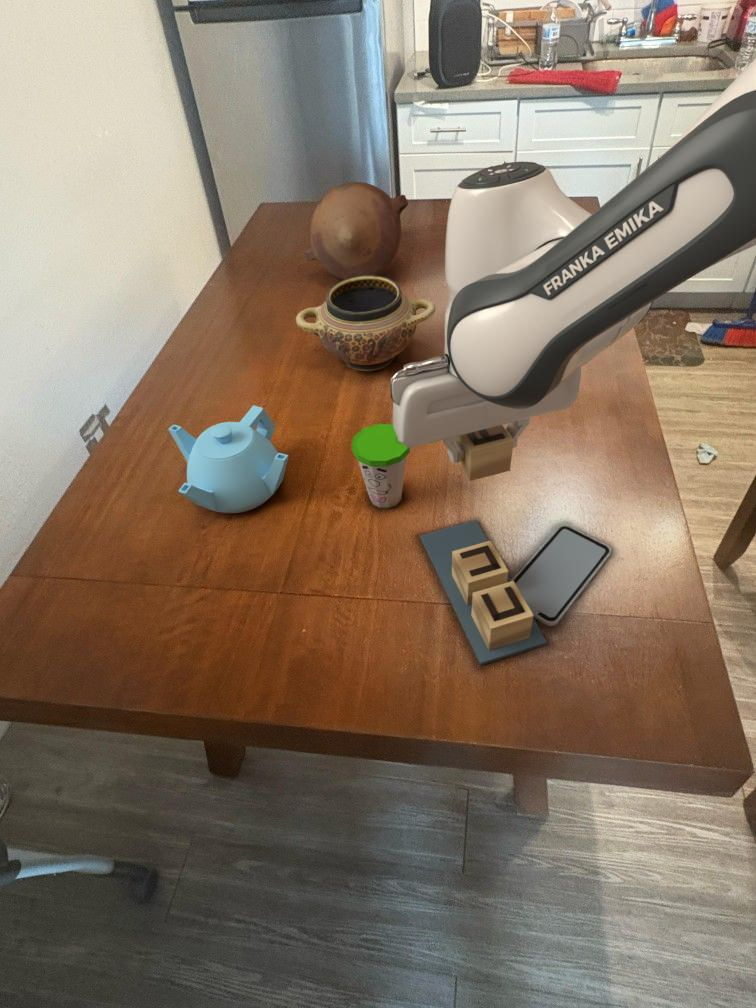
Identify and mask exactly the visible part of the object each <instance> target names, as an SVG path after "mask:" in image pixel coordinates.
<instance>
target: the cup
mask: <svg viewBox="0 0 756 1008" xmlns="http://www.w3.org/2000/svg"><path fill="white" fill-rule="evenodd" d="M410 451H411V448H408V447H407V446H405V445H404V444H402V443H401V442H400V440H399V439H398V437H397V435H396V433H395V431H394V428H393V423H375V424H372V425H369V426H366V427H363V428H362V429H360V430H359V431H358V432H357V433H356V434H355V435H354V436H353V437H352V441H351V452H352V454H353V455H354V457H355V458H356V460H357V463H358V465H359V469H360V472H361V475H362V478H363V481H364V484H365V488H366V491H367V495H368V497H369V500H370V502H371V504H372V505H373V506H375V507H377V508H379V509H391V508H393V507H396V506H398V505H399V503H400V502H401V501H402V496H403V487H404V480H405V479H404V477H405V470H406V463H407V462H406V461H407V456H408V455H409V454H410Z"/></svg>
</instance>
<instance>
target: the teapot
mask: <svg viewBox="0 0 756 1008" xmlns="http://www.w3.org/2000/svg"><path fill="white" fill-rule="evenodd" d="M275 428H276V425H275V423H274V422H273V420H272V418H271V417H270V415H269V414H268V412H267V411H266V409H265V408H264V407H262V406H258V405H254V404H253V405H252V406H251V407H250V409H249V410H248V411H247V412H246V414H245V415H244V416H243V417H242V419H241V420H240V421H239V422H238V421H226V422H225V421H224V422H220V423H217V424H214V425H212V426H210V427H208V428H206V429H205V430H203V432H201V433H200V435H199V436H198V437H197V438H196V437H194V436H193V435H192V434H190V433H189V432H188V431H187V430H185V429H184V428H183V427H182V426H180V425H177V424H172V426H170V427H169V428H168V432H169V434H170V435H171V437H172V439H173V440H174V442H175V444H176V446H177V447H178V449H179V451H180V452H181V454H182V456H183V457H184V460H185V461H186V463H187V465H186V482H184V483H182V486H181V487H180V488H179V490H178V491H177V492H178V494H180V495H182V496H183V497H184V498H186V499H188V500H189V501H191V502H192V503H193V504H195V505H197V506H200V507H202V508H205V509H207V510H209V511H213V512H216V513H222V514H240V513H241V514H242V513H246V512H248V511H251V510H254V509H256V508H258V507H260V506H262V505H263V504H264V503H265V502H267V501H268V500H269V499H270V498H271V497H272V496H273V495H274V494H275V492H276V491H277V490H278V489H279V487H280V485H281V484H282V482H283V481H284V477H285V473H286V469H287V464H288V461H289V454H286V453H281V452H278V450H277V449H276V447H275V446H274V444H273V443H272V442H271V441H272V438H273V435H274V432H275Z"/></svg>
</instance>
